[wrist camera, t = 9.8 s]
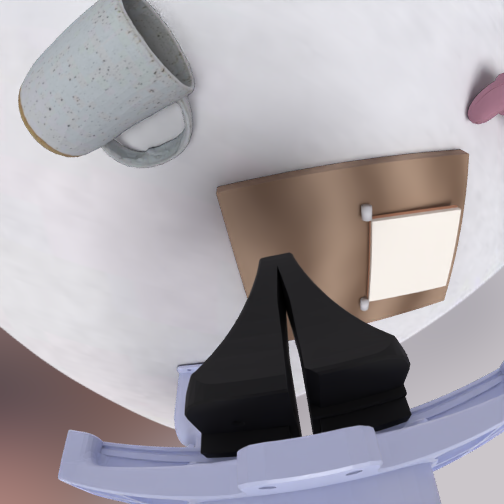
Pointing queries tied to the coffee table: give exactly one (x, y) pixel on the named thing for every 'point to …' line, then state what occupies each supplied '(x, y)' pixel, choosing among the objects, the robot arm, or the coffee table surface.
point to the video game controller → (488, 102)
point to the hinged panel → (409, 251)
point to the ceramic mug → (107, 84)
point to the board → (339, 221)
